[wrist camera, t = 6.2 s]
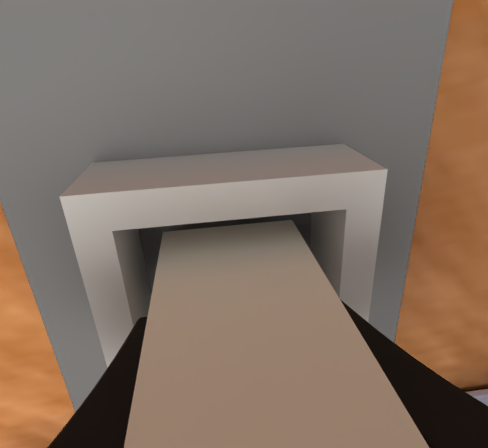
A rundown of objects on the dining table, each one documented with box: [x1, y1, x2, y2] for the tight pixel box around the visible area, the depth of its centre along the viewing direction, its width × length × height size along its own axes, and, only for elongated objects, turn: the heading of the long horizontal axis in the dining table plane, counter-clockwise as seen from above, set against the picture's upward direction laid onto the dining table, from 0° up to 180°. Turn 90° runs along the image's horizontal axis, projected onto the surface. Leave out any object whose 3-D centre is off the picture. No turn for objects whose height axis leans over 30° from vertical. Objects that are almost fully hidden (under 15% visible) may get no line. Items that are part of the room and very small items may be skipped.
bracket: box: [0, 0, 453, 412], centre depth 12 cm, size 14×18×4 cm
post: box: [124, 220, 429, 448], centre depth 8 cm, size 4×4×8 cm
